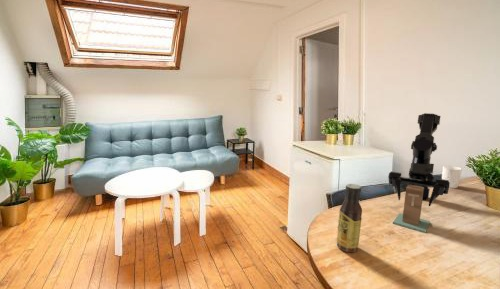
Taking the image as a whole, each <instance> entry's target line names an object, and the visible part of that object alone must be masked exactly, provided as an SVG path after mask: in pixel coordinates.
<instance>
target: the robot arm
mask: <svg viewBox="0 0 500 289" xmlns="http://www.w3.org/2000/svg"><path fill="white" fill-rule="evenodd" d="M440 123H441V115H438V114H436V113H431V112H430V113H427V112H425V113H422V114H419V115H418V117H417V124H418V126H419V127H418V128H419V130H420V132H419V134H417V135H416V136H415V139H414V140H412V143H411V145H410V149H411V150H412V159H411V164H410V167H409V171H408V177H407V176H402V172H398V171H397V172H396V171H390V172H389V173H388V184H389V185H392V187H394V188H395V191H396V192H397V193H396V194H397V198H398V201H401V196H402V195H401V194H402V193H401V192H402V184H401V183H406V184H410V185H416V186H421V187H424V192H423V199H422V201H427V199H429V201H428V207H431V206H432V204H433V203H434V201H435V200H436V199H437V198H438V197H439V196H443V195H448V194H449V190H450V188H449V184H450V182H449V181H448V180H444V179H442V178H435V177H434V167H435V166H434V165H435V164H434V163H431V158H432V157H431V156H432V154H433V153H434V152H436V151H437V150H438V145H437V144H436V142H435V137H434V135H433V134H434V133H435V132H436V131H437V130H438V126H440V125H441V124H440ZM430 188H432V191H430V190H431V189H430ZM430 192H431V195H430ZM429 196H430V198H429Z"/></svg>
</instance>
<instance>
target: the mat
mask: <svg viewBox="0 0 500 289" xmlns="http://www.w3.org/2000/svg"><path fill="white" fill-rule="evenodd" d="M402 219H403V213H401V212H400V213H398V215H397V216H396V217H395V218H394V220H393V221H392V224H393V225H396V226H400V227H404V228H407V229H411V230H414V231H417V232H420V233H424V234H425V233H426V232H427V230H428V228H429V226H430V223H431V221H430V220H427V219H422V218H420V222H419V225H418V226H417V225H413V224H409V223H405V222H402Z"/></svg>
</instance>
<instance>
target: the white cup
mask: <svg viewBox="0 0 500 289" xmlns="http://www.w3.org/2000/svg"><path fill="white" fill-rule="evenodd" d="M462 170H463V168H461V167H458V166H452V165H443V166H442V170H441V171H442V172H441V179H444V180H448V181H449V182H450V184H449V189H457V188H458V186H459V183H460V180H461V175H462Z"/></svg>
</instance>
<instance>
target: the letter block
mask: <svg viewBox="0 0 500 289" xmlns="http://www.w3.org/2000/svg"><path fill="white" fill-rule="evenodd" d="M423 192H424V187H421V186H416V185H412V184H409V183H407V186H406V187H405V193H404V194H405V196H404V203H403V204H404V205H403V212H402V214H403V219H402V222H405V223H409V224H413V225H417V226H418V225H419V222H420V219H421V214H422V207H423V206H422V205H423V200H422V199H423Z"/></svg>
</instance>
